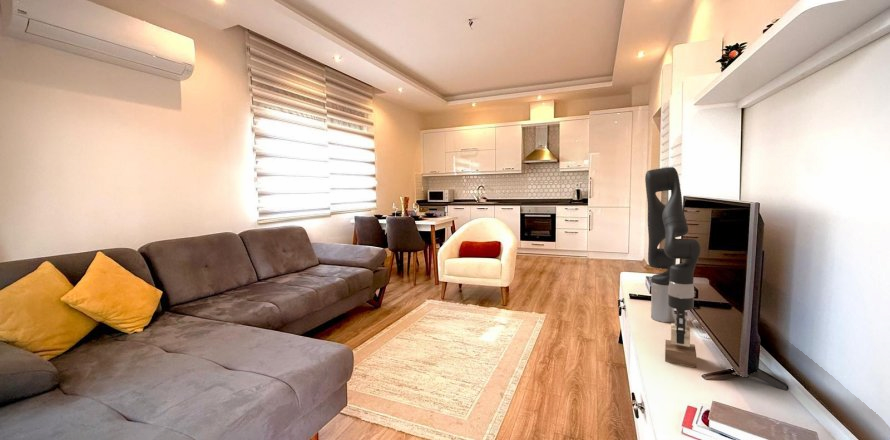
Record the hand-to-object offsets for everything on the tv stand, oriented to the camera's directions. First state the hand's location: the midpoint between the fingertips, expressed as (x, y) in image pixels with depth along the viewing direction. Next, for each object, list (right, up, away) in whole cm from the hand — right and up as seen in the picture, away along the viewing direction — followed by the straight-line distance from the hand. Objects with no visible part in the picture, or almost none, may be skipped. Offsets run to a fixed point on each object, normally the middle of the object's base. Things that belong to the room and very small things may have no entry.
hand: (680, 339), depth 124 cm
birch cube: (0, -1, 0) cm, 1 cm away
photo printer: (+14, -8, -8) cm, 18 cm away
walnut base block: (0, -7, +1) cm, 7 cm away
